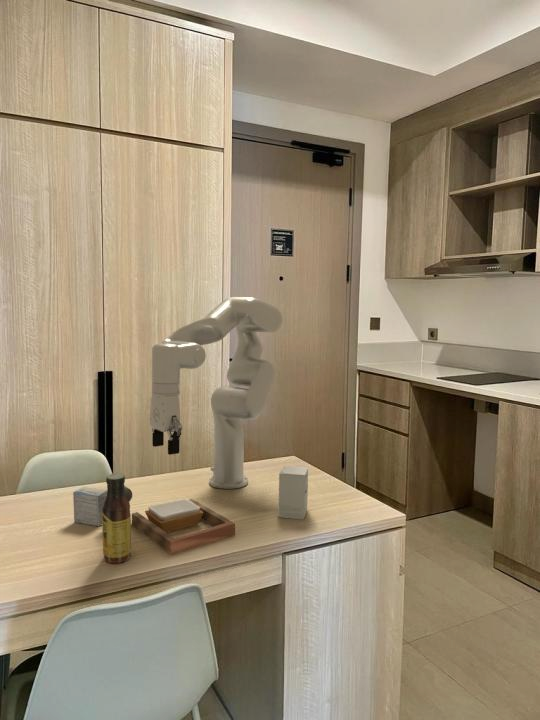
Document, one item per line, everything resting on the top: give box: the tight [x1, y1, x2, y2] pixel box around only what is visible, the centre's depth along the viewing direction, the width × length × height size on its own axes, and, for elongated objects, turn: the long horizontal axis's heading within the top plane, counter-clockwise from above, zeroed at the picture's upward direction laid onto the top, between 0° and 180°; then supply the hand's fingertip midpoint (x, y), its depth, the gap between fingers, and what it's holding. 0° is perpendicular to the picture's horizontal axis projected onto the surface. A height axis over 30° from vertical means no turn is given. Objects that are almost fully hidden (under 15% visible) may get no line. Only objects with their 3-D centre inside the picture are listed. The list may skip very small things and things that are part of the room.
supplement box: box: [277, 465, 309, 520], centre depth 154 cm, size 7×7×13 cm
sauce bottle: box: [101, 472, 132, 564], centre depth 126 cm, size 7×6×20 cm
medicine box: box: [72, 486, 107, 527], centre depth 147 cm, size 8×4×9 cm, turn 71°
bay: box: [124, 485, 236, 555], centre depth 142 cm, size 25×23×11 cm
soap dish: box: [144, 498, 203, 533], centre depth 146 cm, size 12×10×5 cm
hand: (165, 449), depth 153 cm, fingers open, 9 cm apart
